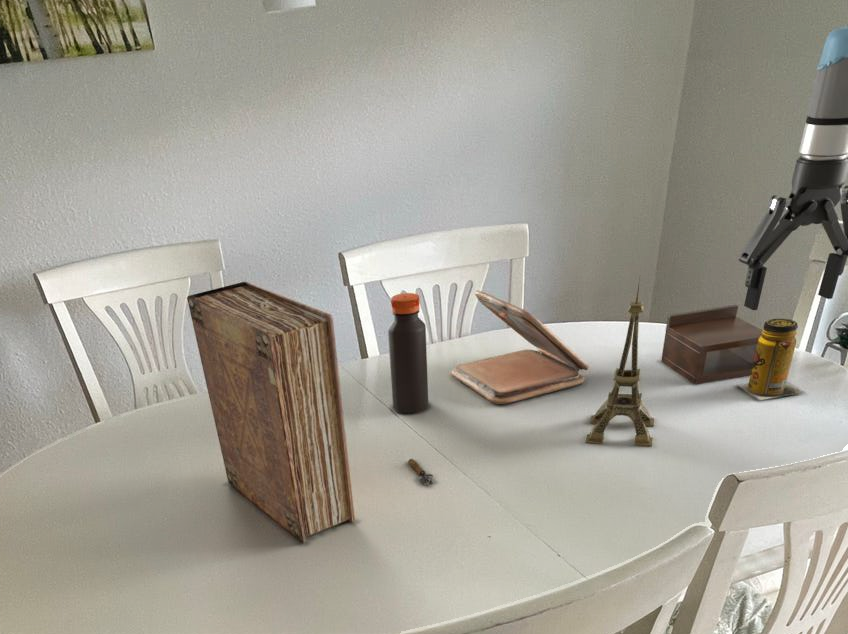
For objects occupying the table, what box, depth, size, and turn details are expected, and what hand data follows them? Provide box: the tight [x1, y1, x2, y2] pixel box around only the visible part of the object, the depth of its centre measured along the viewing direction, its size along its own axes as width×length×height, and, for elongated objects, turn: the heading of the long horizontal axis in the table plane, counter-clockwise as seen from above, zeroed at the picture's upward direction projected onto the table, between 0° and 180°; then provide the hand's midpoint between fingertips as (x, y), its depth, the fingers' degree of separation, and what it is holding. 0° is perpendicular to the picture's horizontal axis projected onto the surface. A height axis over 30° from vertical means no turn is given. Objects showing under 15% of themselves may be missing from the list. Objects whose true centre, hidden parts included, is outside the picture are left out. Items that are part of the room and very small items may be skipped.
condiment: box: [737, 318, 805, 401], centre depth 137 cm, size 7×8×12 cm
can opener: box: [407, 458, 433, 487], centre depth 127 cm, size 9×2×1 cm, turn 14°
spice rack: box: [660, 304, 763, 385], centre depth 148 cm, size 13×14×9 cm
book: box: [186, 281, 356, 545], centre depth 114 cm, size 25×9×30 cm, turn 34°
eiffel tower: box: [585, 276, 655, 447], centre depth 125 cm, size 11×11×25 cm
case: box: [451, 290, 590, 405], centre depth 149 cm, size 20×21×16 cm
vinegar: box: [387, 292, 429, 415], centre depth 142 cm, size 7×7×20 cm
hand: (787, 302), depth 131 cm, fingers open, 13 cm apart
